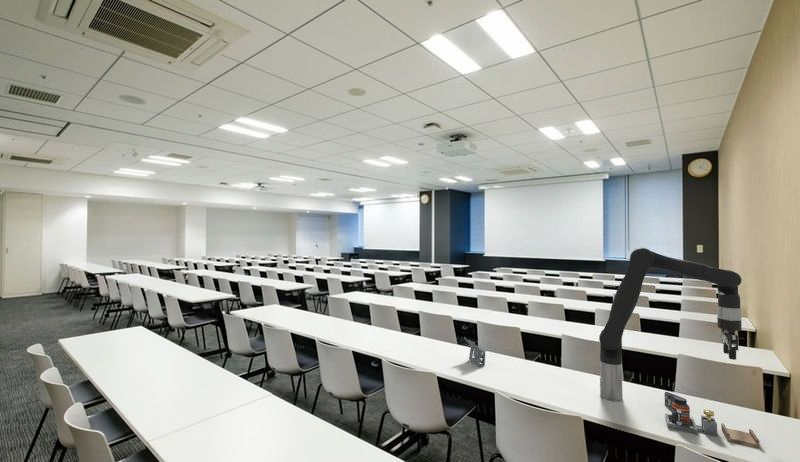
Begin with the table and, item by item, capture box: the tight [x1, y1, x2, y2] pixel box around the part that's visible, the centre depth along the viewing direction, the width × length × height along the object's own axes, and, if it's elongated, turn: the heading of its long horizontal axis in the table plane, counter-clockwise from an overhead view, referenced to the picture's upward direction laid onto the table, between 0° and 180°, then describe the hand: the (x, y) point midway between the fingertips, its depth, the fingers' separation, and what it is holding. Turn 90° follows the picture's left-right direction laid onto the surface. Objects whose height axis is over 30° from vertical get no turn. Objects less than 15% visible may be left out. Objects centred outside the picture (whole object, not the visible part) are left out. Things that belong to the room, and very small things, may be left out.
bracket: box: [463, 336, 487, 367], centre depth 223 cm, size 13×10×15 cm
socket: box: [664, 413, 718, 438], centre depth 146 cm, size 16×10×5 cm, turn 58°
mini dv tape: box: [664, 391, 681, 409], centre depth 163 cm, size 8×2×6 cm, turn 21°
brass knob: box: [703, 409, 715, 421], centre depth 143 cm, size 3×3×6 cm
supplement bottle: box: [671, 396, 691, 427], centre depth 148 cm, size 6×6×11 cm
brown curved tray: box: [720, 423, 761, 449], centre depth 138 cm, size 9×9×3 cm
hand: (729, 356), depth 151 cm, fingers open, 8 cm apart
